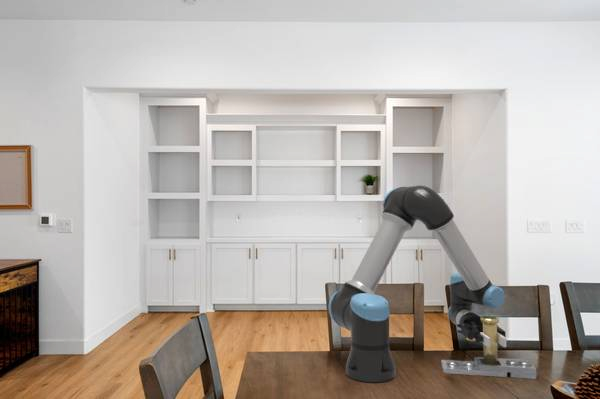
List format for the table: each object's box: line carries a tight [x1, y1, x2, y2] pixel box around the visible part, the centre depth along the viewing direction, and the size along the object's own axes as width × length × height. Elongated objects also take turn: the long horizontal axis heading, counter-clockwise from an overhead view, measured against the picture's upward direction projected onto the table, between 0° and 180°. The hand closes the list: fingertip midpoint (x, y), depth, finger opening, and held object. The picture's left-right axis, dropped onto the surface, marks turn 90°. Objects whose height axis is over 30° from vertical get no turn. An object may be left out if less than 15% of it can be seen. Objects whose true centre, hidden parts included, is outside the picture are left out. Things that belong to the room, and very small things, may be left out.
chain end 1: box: [440, 359, 508, 378], centre depth 141 cm, size 18×8×2 cm, turn 78°
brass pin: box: [480, 315, 500, 365], centre depth 140 cm, size 5×5×14 cm
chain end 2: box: [473, 356, 537, 380], centre depth 139 cm, size 16×8×4 cm, turn 78°
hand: (497, 342), depth 135 cm, fingers closed on brass pin, 4 cm apart
